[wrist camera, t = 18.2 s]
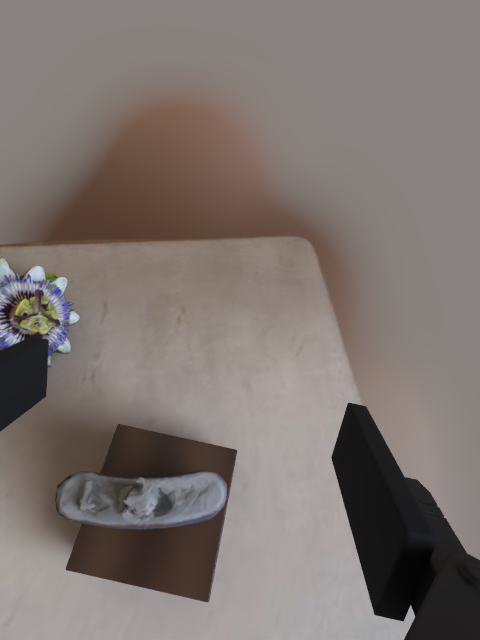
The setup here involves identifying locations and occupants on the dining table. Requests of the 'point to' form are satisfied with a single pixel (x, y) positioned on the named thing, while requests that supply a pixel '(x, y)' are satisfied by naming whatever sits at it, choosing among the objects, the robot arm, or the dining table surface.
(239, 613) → the dining table surface
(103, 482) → the flask
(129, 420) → the dining table surface
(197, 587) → the walnut block
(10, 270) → the passion flower
